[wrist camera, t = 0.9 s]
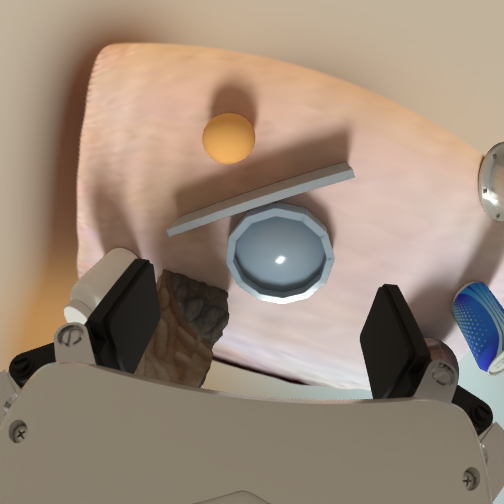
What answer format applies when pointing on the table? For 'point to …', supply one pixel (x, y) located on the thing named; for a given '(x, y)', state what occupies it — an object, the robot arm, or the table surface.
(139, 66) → the table surface
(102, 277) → the pill bottle
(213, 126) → the ball
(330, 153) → the table surface
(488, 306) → the beer can
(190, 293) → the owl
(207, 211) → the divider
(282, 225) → the bowl
